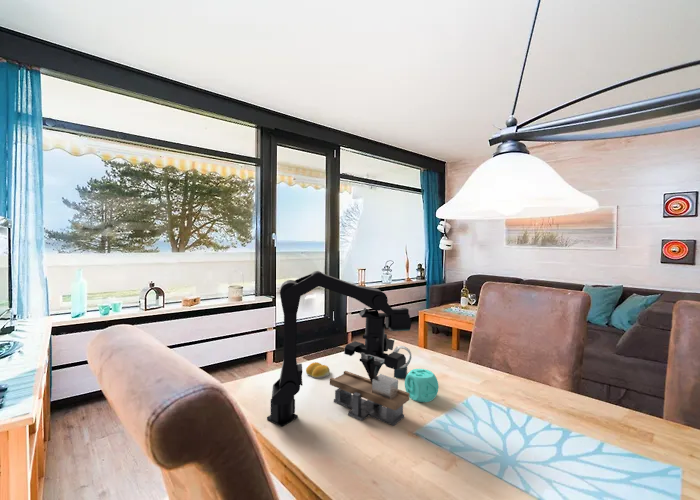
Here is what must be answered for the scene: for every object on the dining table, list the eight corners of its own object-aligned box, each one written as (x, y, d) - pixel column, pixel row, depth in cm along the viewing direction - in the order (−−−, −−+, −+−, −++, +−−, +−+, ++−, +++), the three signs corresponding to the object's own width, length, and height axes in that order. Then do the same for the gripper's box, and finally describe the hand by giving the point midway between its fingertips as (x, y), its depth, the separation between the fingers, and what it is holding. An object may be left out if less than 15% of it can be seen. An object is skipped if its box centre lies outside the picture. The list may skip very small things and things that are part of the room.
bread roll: (319, 380, 127) (319, 370, 127) (302, 374, 132) (302, 364, 132) (334, 373, 133) (334, 363, 133) (317, 367, 139) (317, 358, 139)
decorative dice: (438, 399, 113) (439, 375, 113) (419, 404, 110) (419, 380, 109) (422, 389, 121) (423, 366, 120) (404, 394, 117) (404, 370, 116)
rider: (371, 393, 102) (372, 379, 102) (380, 388, 106) (380, 374, 106) (389, 400, 99) (390, 385, 99) (397, 394, 103) (398, 379, 102)
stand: (326, 406, 108) (326, 384, 108) (352, 391, 118) (352, 371, 118) (387, 431, 94) (387, 407, 94) (410, 412, 105) (410, 390, 105)
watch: (391, 371, 136) (391, 343, 136) (411, 373, 134) (412, 345, 134) (388, 376, 131) (389, 348, 130) (410, 379, 129) (411, 350, 128)
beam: (329, 384, 110) (329, 378, 110) (345, 376, 117) (345, 370, 116) (395, 410, 96) (395, 403, 96) (409, 399, 102) (409, 393, 102)
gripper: (415, 331, 105) (413, 382, 106) (364, 320, 116) (363, 366, 117) (397, 340, 96) (395, 395, 97) (344, 327, 107) (342, 376, 108)
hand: (373, 382), depth 105 cm, fingers closed
